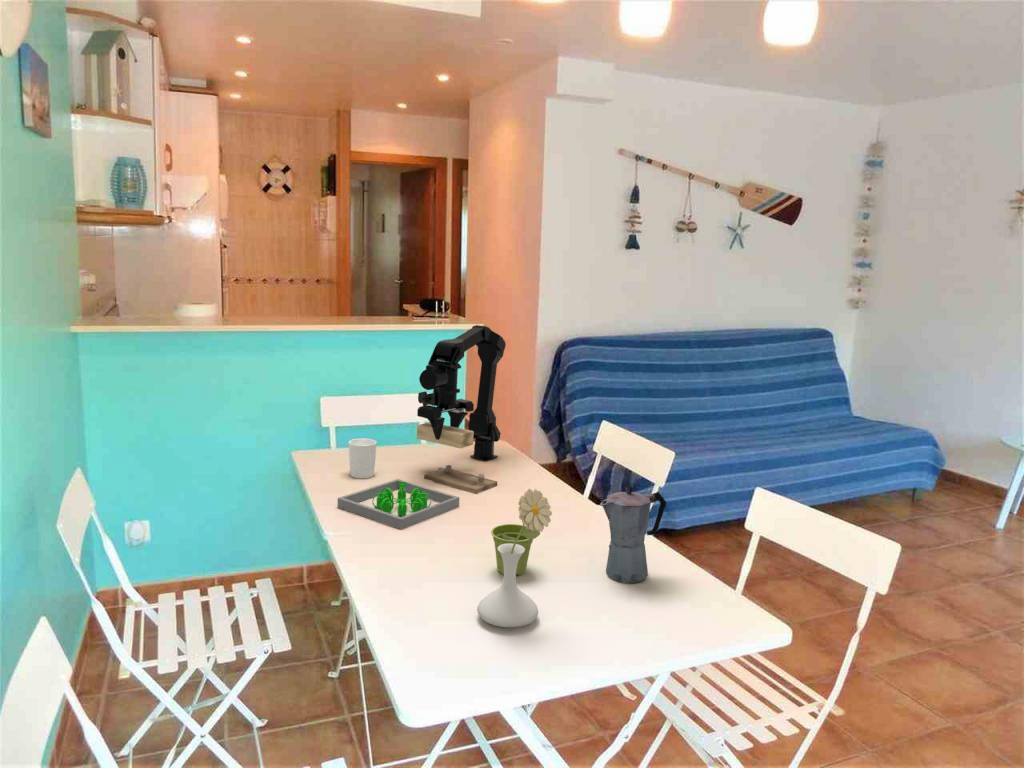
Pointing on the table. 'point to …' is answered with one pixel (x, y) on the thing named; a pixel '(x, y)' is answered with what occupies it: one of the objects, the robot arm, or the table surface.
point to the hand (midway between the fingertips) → (445, 437)
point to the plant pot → (511, 531)
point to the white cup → (362, 457)
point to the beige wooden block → (446, 435)
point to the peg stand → (460, 480)
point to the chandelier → (401, 500)
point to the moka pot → (629, 533)
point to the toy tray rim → (353, 506)
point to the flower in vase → (508, 599)
